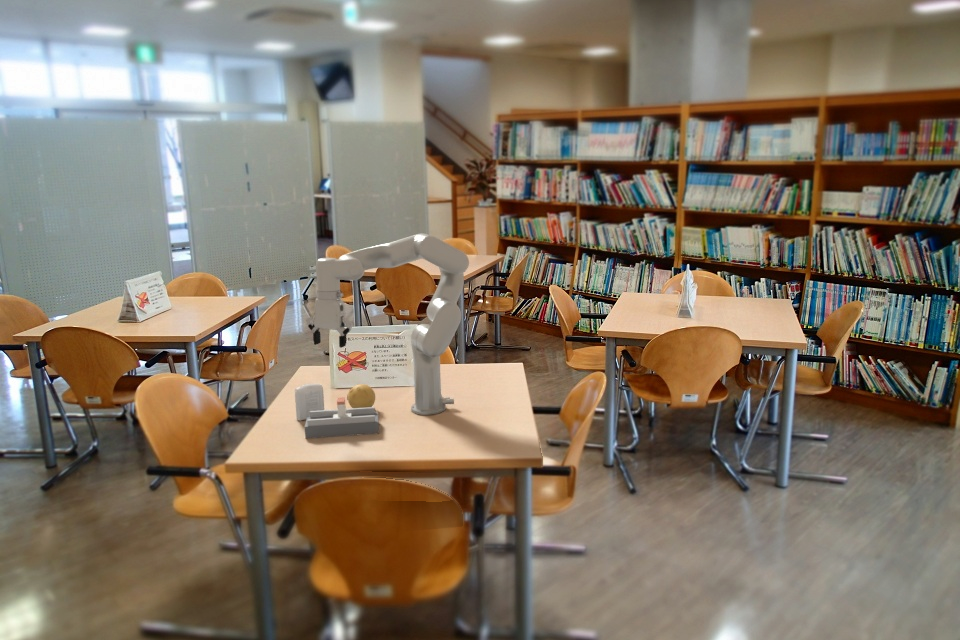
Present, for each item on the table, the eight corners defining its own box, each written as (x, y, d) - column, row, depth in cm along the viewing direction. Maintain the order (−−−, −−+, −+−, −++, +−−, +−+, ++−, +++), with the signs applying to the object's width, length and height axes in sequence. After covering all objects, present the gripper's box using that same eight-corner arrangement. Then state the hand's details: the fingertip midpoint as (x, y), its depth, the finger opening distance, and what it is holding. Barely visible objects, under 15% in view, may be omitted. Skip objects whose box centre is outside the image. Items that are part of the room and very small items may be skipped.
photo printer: (322, 412, 263) (319, 379, 260) (326, 415, 260) (324, 382, 257) (294, 418, 258) (292, 385, 255) (299, 422, 254) (296, 388, 251)
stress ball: (365, 407, 270) (343, 392, 267) (381, 389, 267) (359, 374, 264) (363, 421, 261) (340, 406, 258) (379, 402, 258) (356, 387, 255)
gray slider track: (378, 422, 252) (377, 406, 251) (378, 433, 242) (377, 416, 241) (308, 427, 249) (307, 410, 247) (305, 438, 239) (304, 421, 238)
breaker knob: (351, 414, 248) (350, 396, 246) (350, 421, 242) (349, 401, 241) (333, 416, 247) (332, 397, 246) (332, 422, 241) (331, 403, 240)
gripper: (357, 295, 241) (358, 345, 245) (312, 291, 247) (313, 340, 250) (346, 299, 234) (347, 350, 238) (299, 295, 240) (301, 345, 243)
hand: (329, 345), depth 244 cm, fingers open, 9 cm apart
